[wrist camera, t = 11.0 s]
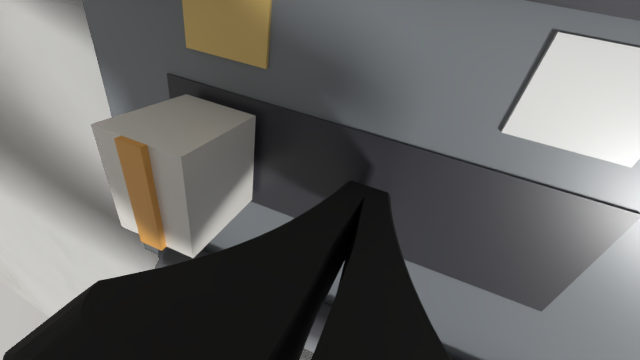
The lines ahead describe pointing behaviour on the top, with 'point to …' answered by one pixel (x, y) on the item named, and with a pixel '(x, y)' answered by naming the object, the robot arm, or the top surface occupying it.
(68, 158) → the top surface
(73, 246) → the top surface
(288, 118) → the panel
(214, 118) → the white orange striped block
